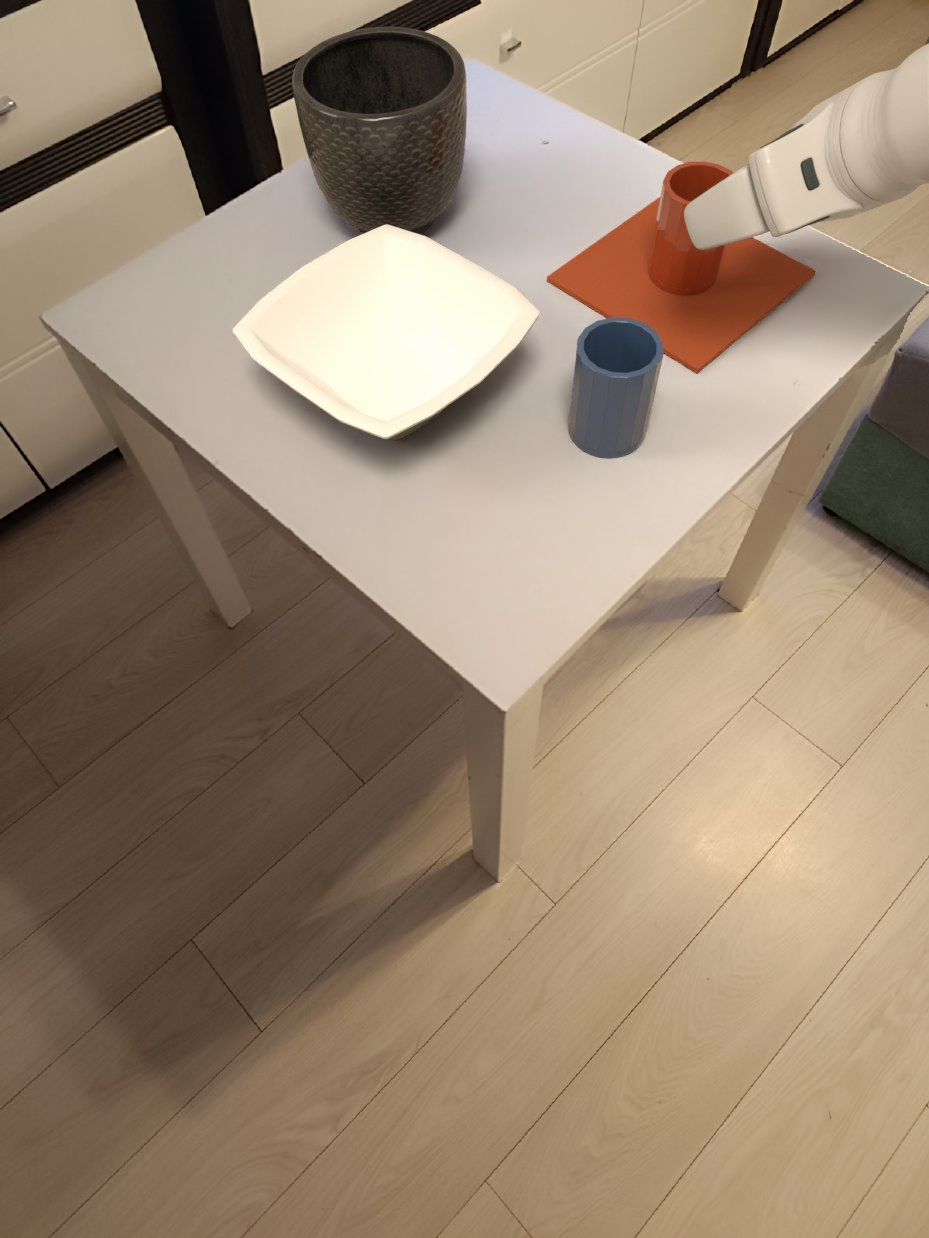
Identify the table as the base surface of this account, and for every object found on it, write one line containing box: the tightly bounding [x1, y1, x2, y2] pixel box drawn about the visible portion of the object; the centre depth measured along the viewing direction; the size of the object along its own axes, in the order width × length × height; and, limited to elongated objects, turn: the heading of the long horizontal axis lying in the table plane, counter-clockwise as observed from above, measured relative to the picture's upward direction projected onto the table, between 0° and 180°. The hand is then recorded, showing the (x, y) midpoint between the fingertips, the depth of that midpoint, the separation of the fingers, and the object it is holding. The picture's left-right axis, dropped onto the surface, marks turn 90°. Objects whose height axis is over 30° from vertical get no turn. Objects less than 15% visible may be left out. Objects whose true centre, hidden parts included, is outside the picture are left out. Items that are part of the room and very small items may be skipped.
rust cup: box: [648, 160, 734, 295], centre depth 86 cm, size 7×7×10 cm
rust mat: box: [546, 195, 817, 374], centre depth 91 cm, size 20×20×1 cm
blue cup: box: [568, 317, 664, 459], centre depth 76 cm, size 7×7×10 cm
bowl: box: [232, 225, 541, 441], centre depth 81 cm, size 22×23×8 cm
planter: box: [291, 26, 468, 235], centre depth 91 cm, size 17×17×16 cm
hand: (735, 206), depth 79 cm, fingers open, 8 cm apart
